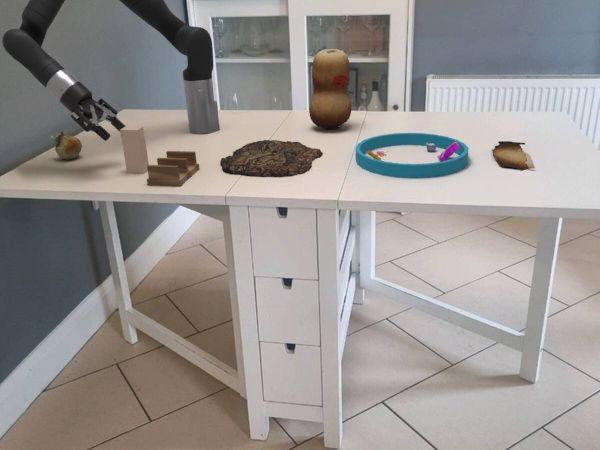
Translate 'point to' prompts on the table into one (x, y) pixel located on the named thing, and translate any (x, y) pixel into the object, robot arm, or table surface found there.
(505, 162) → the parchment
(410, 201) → the table surface
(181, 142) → the table surface
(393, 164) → the teal plastic ring
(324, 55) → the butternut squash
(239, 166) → the stone relief
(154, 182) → the rack
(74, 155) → the onion
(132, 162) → the clay block
